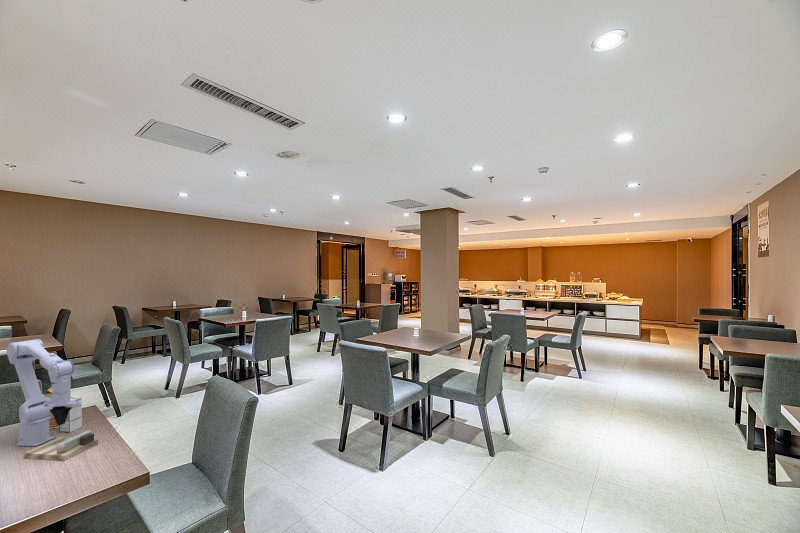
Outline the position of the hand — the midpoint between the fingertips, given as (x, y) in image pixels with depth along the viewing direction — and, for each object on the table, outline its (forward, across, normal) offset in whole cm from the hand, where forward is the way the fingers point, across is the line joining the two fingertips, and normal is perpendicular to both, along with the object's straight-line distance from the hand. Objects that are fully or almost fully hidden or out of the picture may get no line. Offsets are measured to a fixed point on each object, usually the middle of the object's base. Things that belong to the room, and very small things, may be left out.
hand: (61, 424), depth 149 cm
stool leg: (+7, +9, -2) cm, 12 cm away
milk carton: (+10, -25, +18) cm, 32 cm away
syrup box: (+10, -13, +15) cm, 22 cm away
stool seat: (+9, +4, -3) cm, 11 cm away
